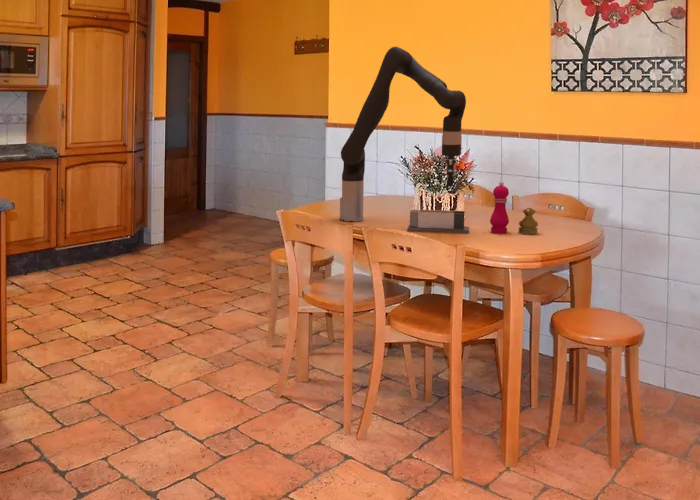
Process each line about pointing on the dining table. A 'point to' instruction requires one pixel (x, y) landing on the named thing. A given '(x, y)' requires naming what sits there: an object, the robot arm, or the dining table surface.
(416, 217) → the block
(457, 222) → the block
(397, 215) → the dining table surface
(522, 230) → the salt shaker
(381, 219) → the dining table surface
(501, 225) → the pepper mill
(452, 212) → the jaw
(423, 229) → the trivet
